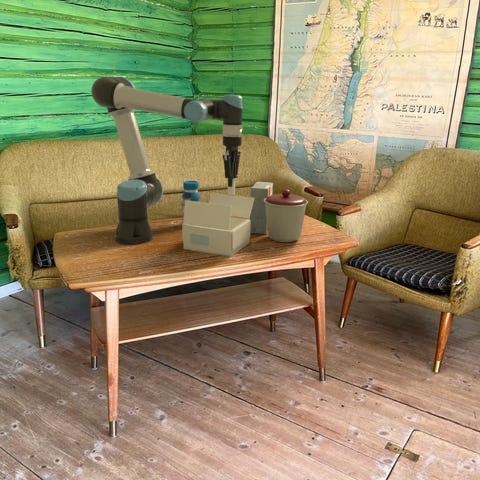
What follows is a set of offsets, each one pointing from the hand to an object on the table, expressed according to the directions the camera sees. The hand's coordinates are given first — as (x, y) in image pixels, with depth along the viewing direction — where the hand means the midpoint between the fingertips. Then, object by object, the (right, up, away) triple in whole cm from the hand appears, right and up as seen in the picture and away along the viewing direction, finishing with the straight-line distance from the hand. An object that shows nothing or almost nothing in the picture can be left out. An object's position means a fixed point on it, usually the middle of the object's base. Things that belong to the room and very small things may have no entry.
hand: (231, 193), depth 199 cm
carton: (-5, -21, -6) cm, 23 cm away
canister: (+22, -19, +4) cm, 29 cm away
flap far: (-1, -5, 0) cm, 5 cm away
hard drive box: (+13, -14, +17) cm, 26 cm away
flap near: (-9, -10, -18) cm, 22 cm away
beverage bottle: (-18, -12, +21) cm, 30 cm away
